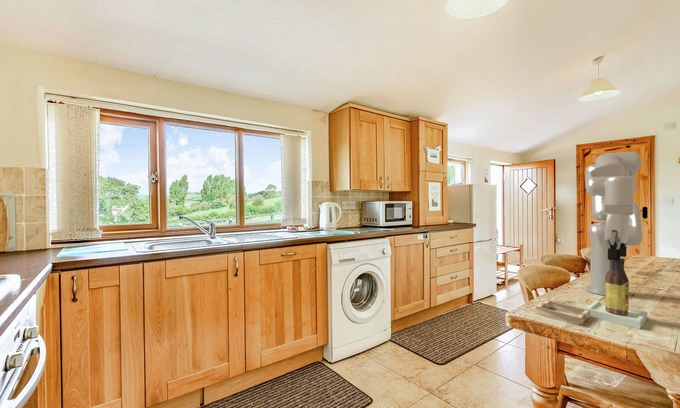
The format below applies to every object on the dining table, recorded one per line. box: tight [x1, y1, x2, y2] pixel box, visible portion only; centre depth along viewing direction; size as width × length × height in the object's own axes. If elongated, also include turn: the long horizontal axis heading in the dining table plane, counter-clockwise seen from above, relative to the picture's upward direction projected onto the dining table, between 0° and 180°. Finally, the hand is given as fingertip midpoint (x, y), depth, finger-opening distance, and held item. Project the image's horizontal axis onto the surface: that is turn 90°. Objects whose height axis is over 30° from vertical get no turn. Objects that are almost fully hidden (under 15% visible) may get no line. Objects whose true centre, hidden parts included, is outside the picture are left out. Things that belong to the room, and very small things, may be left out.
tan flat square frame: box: [534, 299, 590, 327], centre depth 107 cm, size 12×13×2 cm
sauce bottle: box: [604, 257, 630, 315], centre depth 106 cm, size 7×6×20 cm
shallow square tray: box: [584, 300, 648, 330], centre depth 106 cm, size 14×14×2 cm
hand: (617, 258), depth 106 cm, fingers open, 9 cm apart
